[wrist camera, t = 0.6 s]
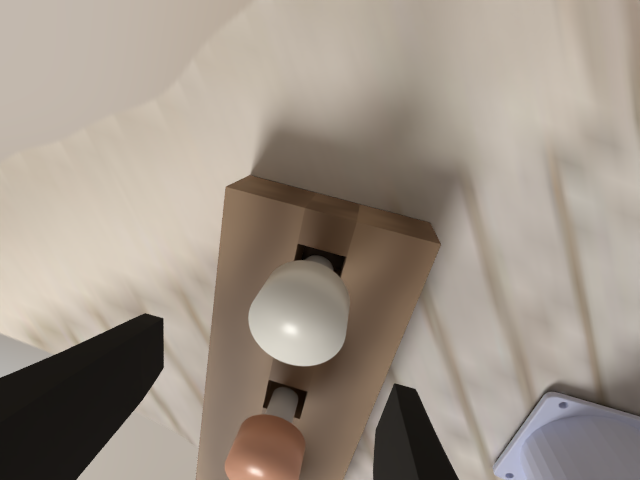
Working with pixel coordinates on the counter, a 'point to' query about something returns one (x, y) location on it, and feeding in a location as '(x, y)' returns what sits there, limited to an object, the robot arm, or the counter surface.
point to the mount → (362, 327)
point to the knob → (301, 312)
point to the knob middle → (268, 443)
